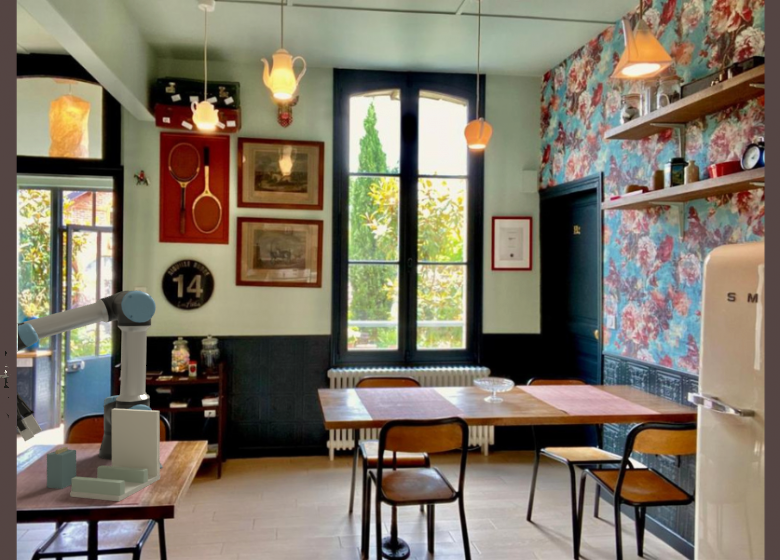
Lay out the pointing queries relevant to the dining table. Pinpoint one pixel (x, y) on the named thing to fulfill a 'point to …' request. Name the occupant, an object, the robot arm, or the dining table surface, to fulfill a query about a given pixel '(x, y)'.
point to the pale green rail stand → (126, 458)
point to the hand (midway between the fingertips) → (34, 435)
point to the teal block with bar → (61, 468)
